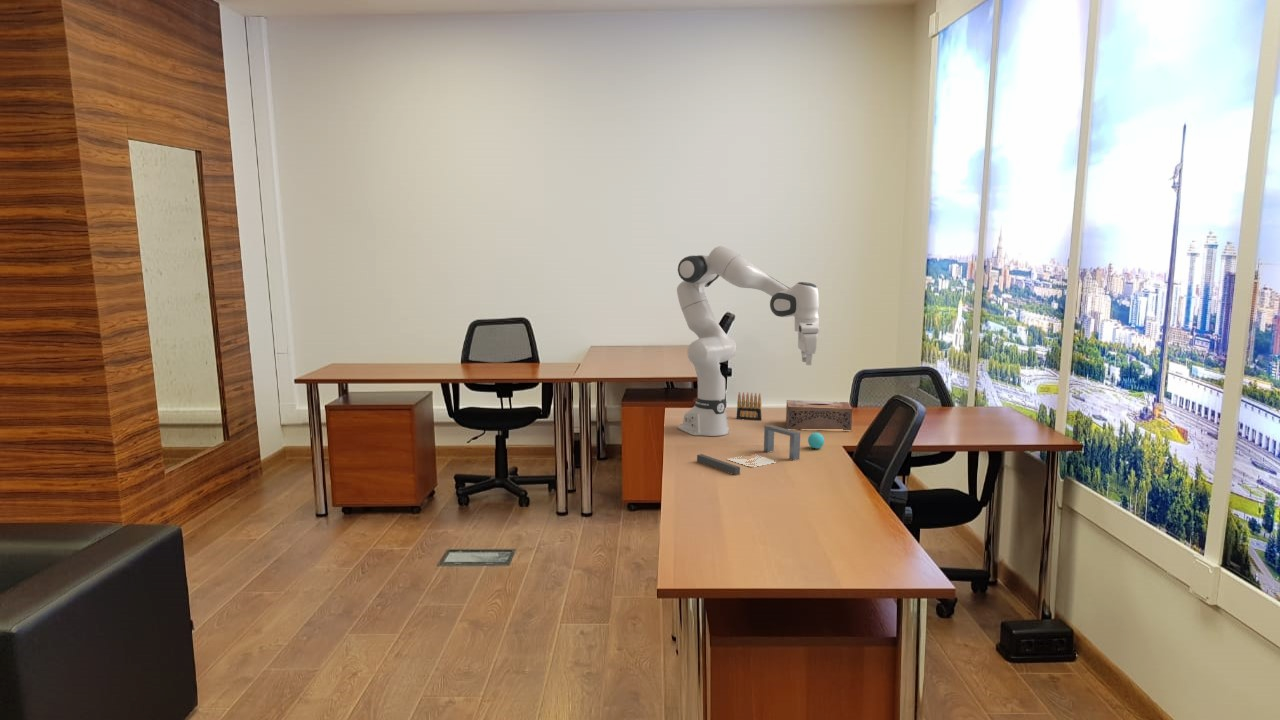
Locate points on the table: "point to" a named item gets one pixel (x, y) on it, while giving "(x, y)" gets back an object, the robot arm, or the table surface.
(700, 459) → the stopper
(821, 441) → the ball
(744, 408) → the ammunition clip
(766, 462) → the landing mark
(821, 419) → the tissue box cover
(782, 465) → the table surface
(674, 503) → the table surface
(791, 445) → the bridge
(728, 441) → the table surface
